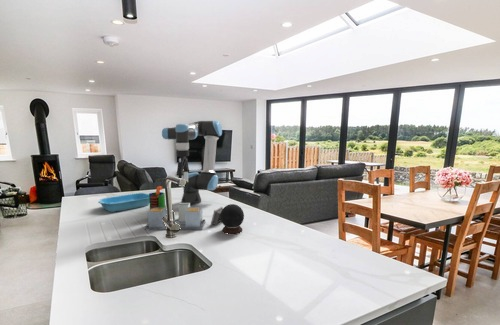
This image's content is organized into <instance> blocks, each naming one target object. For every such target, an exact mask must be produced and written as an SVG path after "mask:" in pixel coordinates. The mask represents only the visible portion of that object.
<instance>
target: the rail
mask: <svg viewBox="0 0 500 325" xmlns="http://www.w3.org/2000/svg"><path fill="white" fill-rule="evenodd" d="M166 214H167V215H168V209H167V210H166V206H165V207H153V208H152V209H151V210H150V209H149V210H148V211H147V222H148V223H146V225H145V226H144V230H145V231H167V230H166V226H165V224H164V222H163V221H162V218H163V217H164V216H166ZM185 218H186V221H179V220H175V221H176V223H177V224H179V225H180V228H181V230H183V231H191V230H193V231H200V230H201V231H202V230H203V229H204V227H205V225H206V219H204V218H203V206H190V207H189V208H188V209H187V210H186V211H185ZM181 230H180V231H181Z"/></svg>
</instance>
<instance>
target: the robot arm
mask: <svg viewBox="0 0 500 325" xmlns="http://www.w3.org/2000/svg"><path fill="white" fill-rule="evenodd" d="M222 135H223V129H222V124H221V122H220V121H219V120H199V121H198V120H197V121H195V122H190V123H188V124H186V123H184V124H183V123H177V124H176V125H175V127H164V128H163V129H162V130H161V137H162V138H163V140H175V143H176V144H174V145H175V147H176V148H175V149H176V151H175V152H176V154H175V156H176V157H179V158H177V170H176V176H177V179H178V178H184V179H185V180H186V181H187V184H186V186H185V187H183V186H182V187H183V188H182V189H183V193H182V196H181V199H180V203H190V206H191V205H198V204H200V203H202V197H201V195H200V192H199V191H215V190H216V189H217V187H218V184H219V176H218V175H217V172H216V171H215V166H216V155H217V154H216V152H217V142H218V140H219V139H220V137H221V136H222ZM198 136H200V137H202V136H203V138H204V140H205V144H204V152H203V153H204V155H203V165H202V166H203V167H202V170H200V174H199V172H197V171H195V172H190V169H189V168H190V167H189V161H188V157H189V156H190V150H189V149H190V143H189V141H190V140H191V141H193V140H195V139H196V138H197V137H198Z"/></svg>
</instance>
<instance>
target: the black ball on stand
mask: <svg viewBox="0 0 500 325" xmlns="http://www.w3.org/2000/svg"><path fill="white" fill-rule="evenodd" d="M220 218H221V223H222V225H223V228H222V230H221V231H223V232H224V233H223V232H222V233H223V234H225V233H228V234H227V235H229V234H234V235H238V234H237V233H239V234H241V233H243V228H242V227H241V225H242V224H243V222H244V218H245V214H244V211H243V208H241V206H239V205H237V204H234V203H229V204H228V205H225V206H224V207H223V209H222V211H221V214H220ZM240 232H241V233H240Z"/></svg>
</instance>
